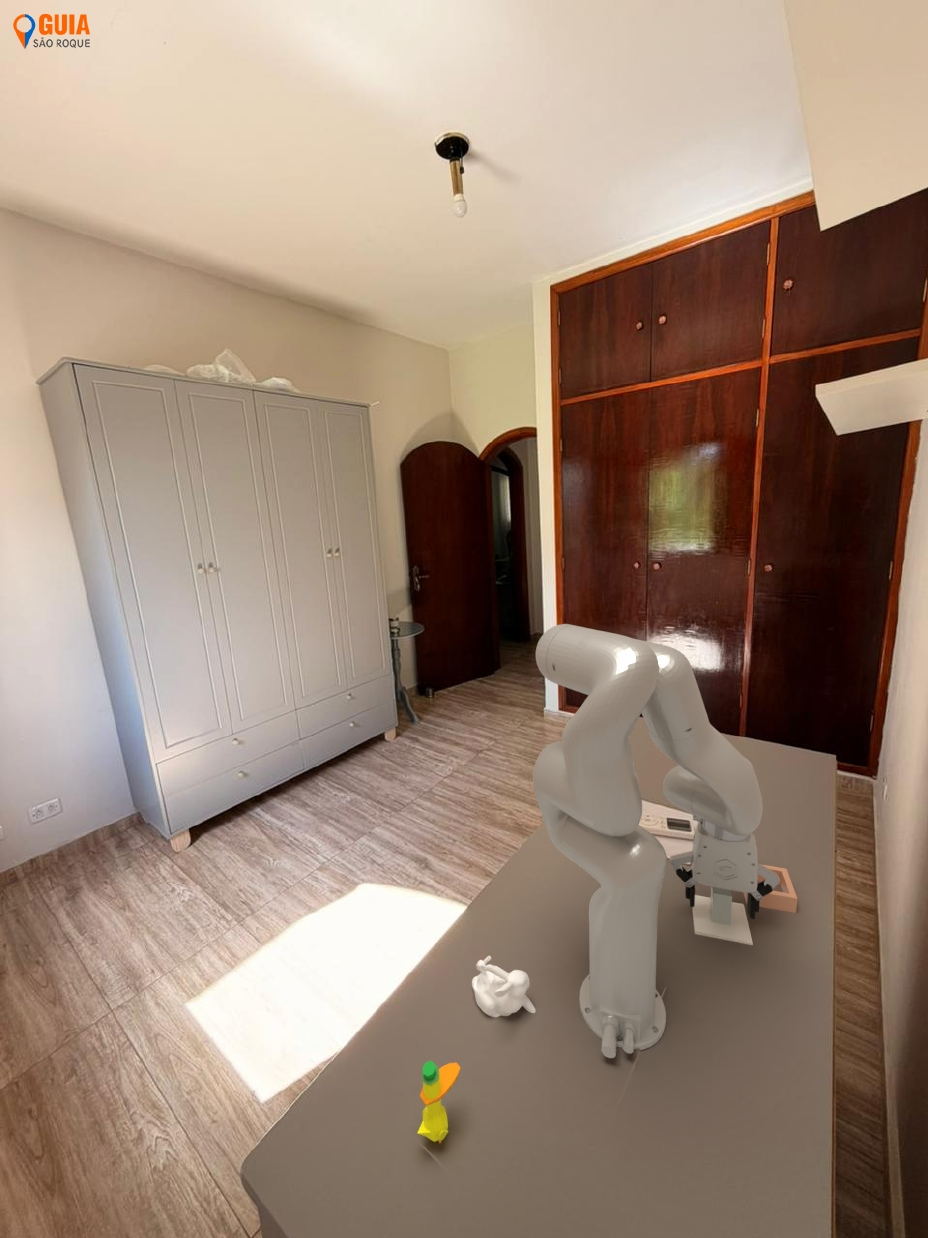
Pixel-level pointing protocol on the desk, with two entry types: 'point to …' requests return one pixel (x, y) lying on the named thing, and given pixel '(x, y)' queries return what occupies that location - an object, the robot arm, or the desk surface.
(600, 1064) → the desk surface
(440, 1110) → the toy figure
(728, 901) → the lid
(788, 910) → the square frame
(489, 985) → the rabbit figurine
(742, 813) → the robot arm
